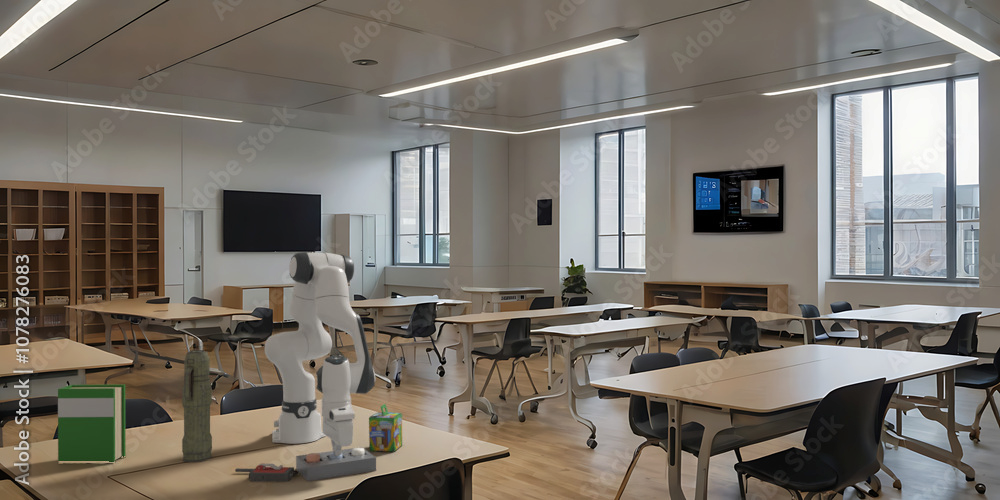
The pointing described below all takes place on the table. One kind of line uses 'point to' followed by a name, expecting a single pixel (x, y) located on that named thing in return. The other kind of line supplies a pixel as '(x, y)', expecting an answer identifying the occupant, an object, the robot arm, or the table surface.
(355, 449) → the white ellipsoid
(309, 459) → the orange egg
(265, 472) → the walkie-talkie
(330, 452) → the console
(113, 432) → the hardback book
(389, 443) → the chalk box
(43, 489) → the table surface
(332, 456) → the pale blue egg shape
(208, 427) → the thermos
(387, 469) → the table surface
